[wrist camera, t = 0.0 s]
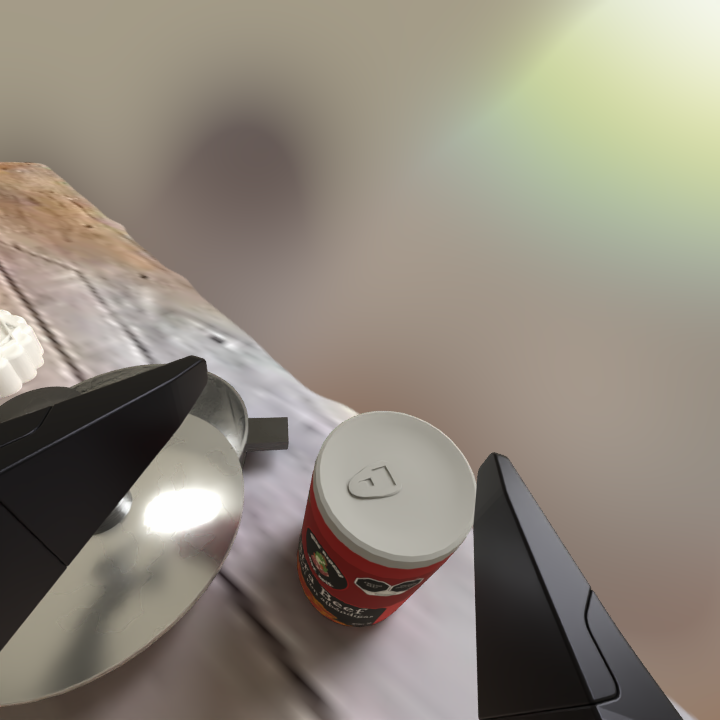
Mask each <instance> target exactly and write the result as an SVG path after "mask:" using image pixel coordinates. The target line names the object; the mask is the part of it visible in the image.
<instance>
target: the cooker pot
mask: <svg viewBox="0 0 720 720" xmlns="http://www.w3.org/2000/svg"><path fill="white" fill-rule="evenodd" d="M162 365H165V364H150V365H140V366H134V367H128V368H123V369H119V370H114V371H111V372H108V373H104V374H101V375H98V376H95V377H93V378H90V379H88V380H85V381H83V382H81V383H79V384H76V385H74V386H72V387H70V388H72V389H74V390H77V391H78V392H80V393H81V394H84V393H87V392H90V391H92V390H95V389H98V388H101V387H104V386H106V385H109V384H112V383H115V382H118V381H120V380H123V379H126V378H129V377H132V376H134V375H137V374H140V373H143V372H146V371H148V370H151V369H154V368H157V367H160V366H162ZM189 414H191V415H193V416H196V417H198V418H200V419H202V420H204V421H206V422H208V423H209V424H211V425H212V426H214V427H215V428H216V429H218V430H219V431H220V432H221V433H222V434H223V435H224V436H225V437H226V438H227V440H228V441H229V442H230V444H231V445H232V446H233V448H234V450H235V452H236V454H237V456H238V459H239V462H240V465H241V468H243V465H244V462H245V456H246V451H263V450H283V449H288V417H281V418H248V415H247V410H246V407H245V404H244V402H243V400H242V398H241V397H240V395H239V394H238V392H237V391H236V390H235V389H234V388H233V387H232V386H231V385H230V384H229V383H227V382H226V381H225V380H223V379H222V378H220V377H218V376H216V375H214V374H212V373H210V372H208V382H207V385H206V387H205V388H204V390H203V391H202V393H201V395H200V396H199V398H198V399H197V401H196V402H195V404H194V406H193V407H192V409H191V410H190V412H189Z"/></svg>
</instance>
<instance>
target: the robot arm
mask: <svg viewBox="0 0 720 720" xmlns="http://www.w3.org/2000/svg"><path fill="white" fill-rule="evenodd" d="M207 382H208V372H207V365H206V361H205V359H203V358H200V357H197V356H193V355H191V356H188V357H185V358H182V359H179V360H176V361H174V362H171V363H168V364H165V365H162V366H160V367H157V368H154V369H151V370H148V371H146V372H143V373H140V374H137V375H134V376H132V377H129V378H126V379H123V380H120V381H118V382H115V383H112V384H109V385H106V386H104V387H101V388H98V389H95V390H92V391H90V392H87V393H84V394H81V395H78V396H76V397H73V398H70V399H67V400H64V401H62V402H59V403H56V404H54V405H53V406H47V407H45V408H42V409H39V410H36V411H33V412H31V413H28V414H25V415H22V416H19V417H16V418H13V419H10V420H7V421H4V422H1V423H0V651H1V650H2V649H3V648H4V646H5V645H6V644H7V643H8V641H9V640H10V639H11V638H12V636H13V635H14V634H15V633H16V631H17V630H18V629H19V628H20V626H21V625H22V624H23V623H24V621H25V620H26V619H27V618H28V616H29V615H30V614H31V613H32V611H33V610H34V609H35V608H36V606H37V605H38V604H39V603H40V601H41V600H42V599H43V598H44V596H45V595H46V594H47V593H48V591H49V590H50V589H51V588H52V586H53V585H54V584H55V583H56V581H57V580H58V579H59V578H60V576H61V575H62V574H63V573H64V571H65V570H66V569H67V566H69V565H70V564H71V562H72V561H73V560H74V559H75V557H76V556H77V555H78V554H79V552H80V551H81V550H82V549H83V547H84V546H85V545H86V544H87V542H88V541H89V540H90V539H91V537H92V536H93V535H94V534H95V532H96V531H97V530H98V529H99V527H100V526H101V525H102V524H103V522H104V521H105V520H106V519H107V517H108V516H109V515H110V514H111V512H112V511H113V510H114V509H115V507H116V506H117V505H118V504H119V502H120V501H121V500H122V499H123V497H124V496H125V495H126V493H127V492H128V491H129V490H130V488H131V487H132V486H133V485H134V483H135V482H136V481H137V480H138V478H139V477H140V476H141V475H142V473H143V472H144V471H145V470H146V468H147V467H148V466H149V465H150V463H151V462H152V461H153V460H154V458H155V457H156V456H157V455H158V453H159V452H160V451H161V450H162V448H163V447H164V446H165V445H166V443H167V442H168V441H169V440H170V438H171V437H172V436H173V435H174V433H175V432H176V431H177V430H178V428H179V427H180V426H181V424H182V423H183V421H184V420H185V418H186V417H187V415H188V414H189V412H190V410H191V409H192V407H193V406H194V404H195V402H196V401H197V399H198V398H199V396H200V395H201V393H202V391H203V390H204V388H205V387H206V385H207ZM473 534H474V572H475V610H476V647H477V685H478V718H479V720H683V719H682V717H681V716H680V714H679V713H678V712H677V710H676V709H675V708H674V706H673V705H672V703H671V702H670V701H669V699H668V698H667V697H666V695H665V694H664V692H663V691H662V690H661V688H660V687H659V686H658V684H657V683H656V682H655V680H654V679H653V677H652V676H651V675H650V673H649V672H648V670H647V669H646V668H645V666H644V665H643V663H642V662H641V661H640V659H639V658H638V657H637V655H636V654H635V652H634V651H633V649H632V648H631V646H630V645H629V644H628V642H627V641H626V639H625V638H624V637H623V635H622V634H621V632H620V631H619V629H618V628H617V626H616V625H615V623H614V622H613V620H612V619H611V617H610V616H609V614H608V612H607V611H606V610H605V608H604V607H603V605H602V603H601V602H600V600H599V599H598V597H597V596H596V594H595V592H594V591H593V590H591V587H590V585H589V583H588V582H587V580H586V579H585V577H584V575H583V574H582V572H581V571H580V569H579V568H578V566H577V564H576V563H575V561H574V560H573V558H572V557H571V555H570V554H569V552H568V550H567V549H566V547H565V546H564V544H563V543H562V541H561V540H560V538H559V537H558V535H557V533H556V532H555V530H554V529H553V527H552V526H551V524H550V522H549V521H548V519H547V518H546V516H545V515H544V513H543V511H542V510H541V508H540V507H539V506H538V504H537V502H536V501H535V499H534V497H533V496H532V495H531V493H530V491H529V490H528V488H527V487H526V485H525V483H524V482H523V480H522V479H521V477H520V476H519V474H518V473H517V471H516V469H515V468H514V466H513V465H512V463H511V462H510V460H509V459H508V458H507V457H506V456H504V455H501V454H498V453H495V452H494V453H491V454H490V455H489V456H488V458H487V459H486V460H485V461H484V463H483V464H482V465H481V466H480V468H479V471H478V476H477V487H476V498H475V510H474V523H473Z"/></svg>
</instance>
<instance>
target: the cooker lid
mask: <svg viewBox="0 0 720 720" xmlns="http://www.w3.org/2000/svg"><path fill="white" fill-rule="evenodd" d="M78 395H81V393H80V392H78V391H77V390H74V389H72V388H67V387H46V388H40V389H36V390H32V391H29V392H26V393H23V394H21V395H18V396H16V397H14V398H12V399H10V400H9V401H7V402H5V403H4V404H3V405H1V406H0V423H1V422H4V421H7V420H10V419H13V418H16V417H19V416H22V415H25V414H28V413H31V412H33V411H36V410H39V409H42V408H45V407H47V406H53V405H54V404H56V403H59V402H62V401H64V400H67V399H70V398H73V397H76V396H78ZM243 505H244V481H243V474H242V468H241V465H240V462H239V459H238V456H237V454H236V452H235V450H234V448H233V446H232V445H231V444H230V442H229V441H228V440H227V438H226V437H225V436H224V435H223V434H222V433H221V432H220V431H219V430H218V429H216V428H215V427H214V426H212V425H211V424H209V423H208V422H206V421H204V420H202V419H200V418H198V417H196V416H193V415H191V414H188V415H187V417H186V418H185V420H184V421H183V423H182V424H181V426H180V427H179V428H178V430H177V431H176V432H175V433H174V435H173V436H172V437H171V438H170V440H169V441H168V442H167V443H166V445H165V446H164V447H163V448H162V450H161V451H160V452H159V453H158V455H157V456H156V457H155V458H154V460H153V461H152V462H151V463H150V465H149V466H148V467H147V468H146V470H145V471H144V472H143V473H142V475H141V476H140V477H139V478H138V480H137V481H136V482H135V483H134V485H133V486H132V487H131V488H130V490H129V491H128V492H127V493H126V495H125V496H124V497H123V499H122V500H121V501H120V502H119V504H118V505H117V506H116V507H115V509H114V510H113V511H112V512H111V514H110V515H109V516H108V517H107V519H106V520H105V521H104V522H103V524H102V525H101V526H100V527H99V529H98V530H97V531H96V532H95V534H94V535H93V536H92V537H91V539H90V540H89V541H88V542H87V544H86V545H85V546H84V547H83V549H82V550H81V551H80V552H79V554H78V555H77V556H76V557H75V559H74V560H73V561H72V562H71V564H70V565H69V566H67V569H66V570H65V571H64V573H63V574H62V575H61V576H60V578H59V579H58V580H57V581H56V583H55V584H54V585H53V586H52V588H51V589H50V590H49V591H48V593H47V594H46V595H45V596H44V598H43V599H42V600H41V601H40V603H39V604H38V605H37V606H36V608H35V609H34V610H33V611H32V613H31V614H30V615H29V616H28V618H27V619H26V620H25V621H24V623H23V624H22V625H21V626H20V628H19V629H18V630H17V631H16V633H15V634H14V635H13V636H12V638H11V639H10V640H9V641H8V643H7V644H6V645H5V646H4V648H3V649H2V650H1V651H0V707H6V706H13V705H19V704H26V703H33V702H36V701H40V700H43V699H46V698H50V697H53V696H57V695H60V694H64V693H66V692H68V691H71V690H73V689H76V688H78V687H80V686H83V685H85V684H88V683H90V682H92V681H94V680H96V679H98V678H100V677H102V676H103V675H105V674H107V673H109V672H111V671H113V670H114V669H116V668H118V667H120V666H122V665H123V664H125V663H126V662H128V661H129V660H130V659H132V658H133V657H135V656H136V655H138V654H139V653H141V652H142V651H144V650H145V649H147V648H148V647H149V646H150V645H152V644H153V643H154V642H155V641H156V640H158V639H159V638H160V637H161V636H163V635H164V634H165V633H166V632H167V631H169V630H170V629H171V628H172V627H173V626H174V625H175V624H176V623H177V622H178V621H179V620H180V619H181V618H182V617H183V616H184V615H185V614H186V613H187V612H188V611H189V610H190V609H191V608H192V606H193V605H194V604H195V603H196V602H197V600H198V599H199V598H200V597H201V596H202V594H203V593H204V592H205V591H206V590H207V588H208V587H209V585H210V584H211V582H212V581H213V579H214V578H215V576H216V575H217V574H218V572H219V571H220V569H221V567H222V565H223V563H224V561H225V560H226V558H227V556H228V554H229V552H230V550H231V547H232V545H233V543H234V540H235V538H236V535H237V532H238V529H239V525H240V522H241V518H242V512H243Z"/></svg>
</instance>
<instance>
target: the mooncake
mask: <svg viewBox="0 0 720 720" xmlns="http://www.w3.org/2000/svg"><path fill="white" fill-rule="evenodd" d="M43 353H44V350H43V348H42V346H41V344H40V342H39V340H38V339H37V337H36V335H35V333H34V331H33V329H32V328H31V326H29V325H27V323H26V321H25V320H24V319H23V318H22V317H20V316H16V315H11V313H9V312H8V311H5V310H0V398H3V397H7V396H10V395H13V394H15V393H16V392H18V391H19V390H20V389H21V388H22V384H23V383H26V382H28V381H30V380H32V379H33V378H35V376H36V375H37V371H36V369H38V368H39V367H41V366H42V365H43V363H44V359H43V357H42V356H41V355H42V354H43Z"/></svg>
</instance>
